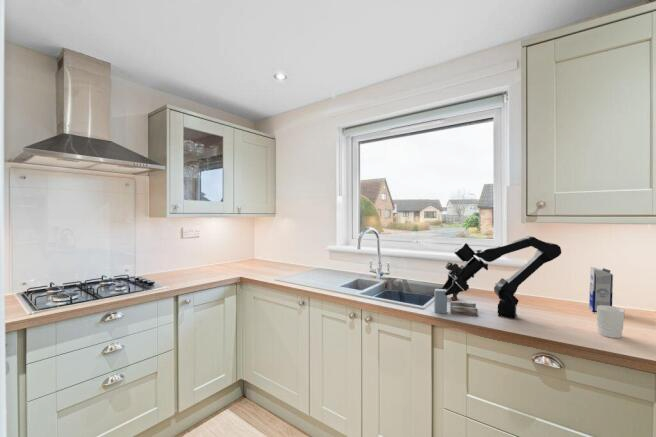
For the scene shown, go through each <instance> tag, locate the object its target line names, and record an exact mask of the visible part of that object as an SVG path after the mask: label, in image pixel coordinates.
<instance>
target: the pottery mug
mask: <svg viewBox="0 0 656 437" xmlns="http://www.w3.org/2000/svg"><path fill="white" fill-rule="evenodd" d="M440 289H442V287H441V288H440ZM448 289H449V288H448ZM448 289H446V290H448ZM459 293H460V292H458V293H454V294H452V296H450V299H451V301H454V302H456V301H458V295H459Z"/></svg>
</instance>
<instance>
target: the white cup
mask: <svg viewBox="0 0 656 437" xmlns="http://www.w3.org/2000/svg"><path fill="white" fill-rule="evenodd" d="M625 314H626V313H625V310H624V309H623V308H621V307H617V306H613V305H612V306H605V305H599V306H597V313H596V321H597V322H596V325H597V333H598V334H599V335H601V336H604V337H606V338H610V339H611V338H612V339H621V338H622V337H623V329H624V324H625V323H624V321H625Z"/></svg>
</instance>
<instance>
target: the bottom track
mask: <svg viewBox="0 0 656 437" xmlns="http://www.w3.org/2000/svg"><path fill="white" fill-rule="evenodd" d="M449 302H450V304H449V308H450V310H449V311H450V313H451V314H456V315H457V314H458V315H466V316H467V315H468V316H469V315H470V316H478V307H477V304H476V303H474V302H465V301H464V302H462V301H452V300H451V301H449Z"/></svg>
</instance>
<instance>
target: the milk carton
mask: <svg viewBox="0 0 656 437" xmlns="http://www.w3.org/2000/svg"><path fill="white" fill-rule="evenodd" d="M589 268H590V270H589V271H590V272H589V306H588V309H589V308H590V309H591V310H592V311H591V310H590V309H589V310H590V311H591V312H592V313H593V312H597V306H599V305H605V306H612V307H613V294H614V293H613V289H614V287H613V286H614V274H612V273H611V270H610V269H607V268H605V267H603V268H602V269H600V268H597V267H592V266H590V267H589Z"/></svg>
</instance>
